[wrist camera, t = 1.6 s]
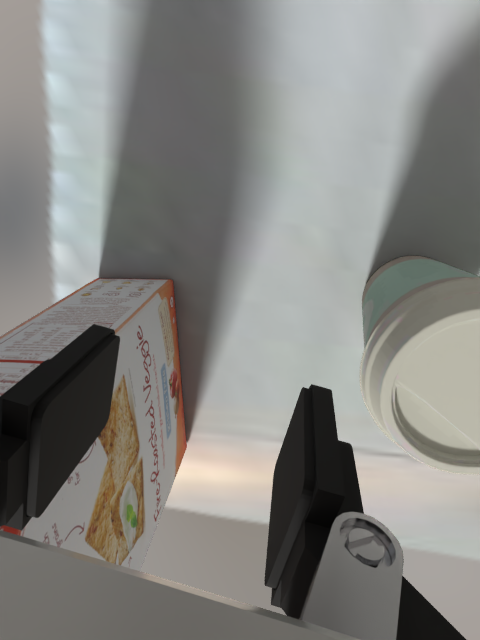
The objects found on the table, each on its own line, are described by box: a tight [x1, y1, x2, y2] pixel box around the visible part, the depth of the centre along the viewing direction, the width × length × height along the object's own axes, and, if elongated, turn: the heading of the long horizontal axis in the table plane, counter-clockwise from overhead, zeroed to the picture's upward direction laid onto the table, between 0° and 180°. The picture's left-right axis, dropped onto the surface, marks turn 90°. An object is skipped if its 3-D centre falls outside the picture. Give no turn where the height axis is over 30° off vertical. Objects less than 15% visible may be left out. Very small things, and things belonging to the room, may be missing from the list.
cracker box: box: [0, 278, 187, 571], centre depth 22 cm, size 14×6×21 cm, turn 1°
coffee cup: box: [360, 256, 480, 475], centre depth 22 cm, size 8×9×12 cm
